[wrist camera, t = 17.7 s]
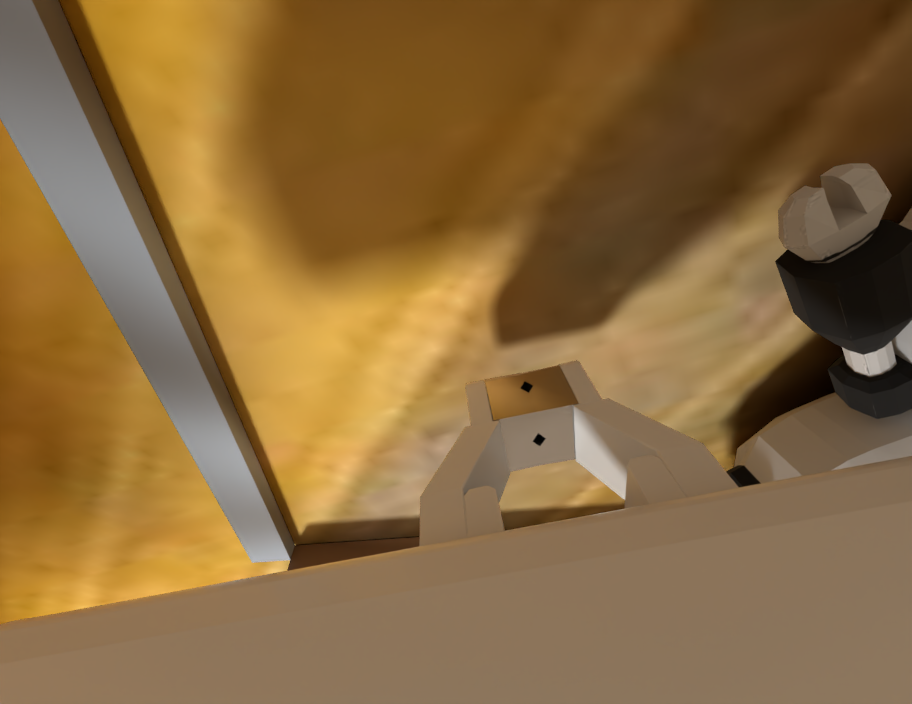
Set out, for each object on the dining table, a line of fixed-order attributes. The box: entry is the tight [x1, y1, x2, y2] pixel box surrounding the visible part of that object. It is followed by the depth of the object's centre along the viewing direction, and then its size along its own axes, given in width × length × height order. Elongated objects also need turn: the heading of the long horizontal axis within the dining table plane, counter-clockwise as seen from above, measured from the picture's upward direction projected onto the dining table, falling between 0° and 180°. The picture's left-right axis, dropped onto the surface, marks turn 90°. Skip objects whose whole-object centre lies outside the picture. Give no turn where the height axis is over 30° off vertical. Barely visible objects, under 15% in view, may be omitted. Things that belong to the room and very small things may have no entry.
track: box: [0, 0, 420, 571], centre depth 11 cm, size 21×28×2 cm
